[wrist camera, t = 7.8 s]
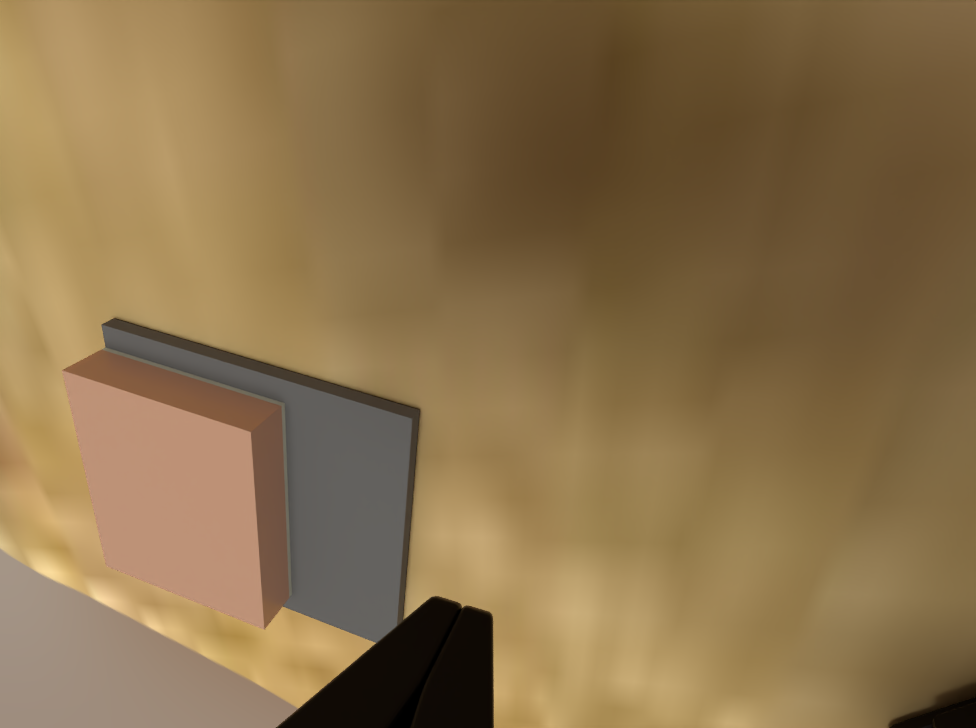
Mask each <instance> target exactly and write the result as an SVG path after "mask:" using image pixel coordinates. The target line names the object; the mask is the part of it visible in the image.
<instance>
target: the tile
mask: <svg viewBox="0 0 976 728" xmlns="http://www.w3.org/2000/svg"><path fill="white" fill-rule="evenodd" d="M62 372H63V376H64V381H65V385H66V390H67V394H68V399H69V403H70V407H71V412H72V416H73V421H74V425H75V430H76V434H77V438H78V443H79V447H80V452H81V456H82V461H83V465H84V469H85V474H86V478H87V483H88V487H89V492H90V496H91V501H92V505H93V509H94V514H95V518H96V523H97V527H98V532H99V536H100V540H101V545H102V549H103V554H104V558H105V563H106V566H107V567H110V568H112V569H115V570H117V571H120V572H122V573H125V574H127V575H130V576H132V577H135V578H137V579H140V580H142V581H145V582H147V583H150V584H152V585H155V586H157V587H160V588H162V589H165V590H167V591H170V592H172V593H174V594H177V595H179V596H182V597H184V598H187V599H189V600H192V601H194V602H197V603H199V604H202V605H204V606H207V607H209V608H212V609H214V610H217V611H219V612H222V613H224V614H227V615H229V616H232V617H234V618H237V619H239V620H242V621H244V622H247V623H249V624H252V625H254V626H257V627H259V628H262V629H265V628H266V627H267V626H268V624H269V623H270V622H271V620H272V619H273V618H274V617H275V615H276V614H277V613H278V612H279V610H280V609H281V608H282V606H283V605H284V604H285V603H286V601H287V600H288V599H289V597H290V596H291V595H292V585H291V558H290V532H289V505H288V478H287V452H286V425H285V403H282V402H279V401H276V400H273V399H269V398H266V397H263V396H260V395H257V394H253V393H250V392H247V391H244V390H241V389H237V388H234V387H231V386H228V385H225V384H221V383H218V382H215V381H212V380H209V379H205V378H202V377H199V376H196V375H193V374H189V373H186V372H183V371H180V370H177V369H173V368H170V367H167V366H164V365H161V364H157V363H154V362H151V361H148V360H144V359H141V358H138V357H135V356H132V355H128V354H125V353H122V352H119V351H116V350H112V349H109V348H106V347H105V348H104V349H102V350H100V351H98V352H96V353H94V354H92V355H90V356H88V357H87V358H85V359H83V360H81V361H79V362H77V363H75V364H73V365H71V366H69V367H68V368H66V369H64V370H62Z"/></svg>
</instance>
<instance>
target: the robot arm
mask: <svg viewBox="0 0 976 728" xmlns="http://www.w3.org/2000/svg"><path fill="white" fill-rule="evenodd" d="M276 728H494V690H493V616H492V614H491V613H490V612H488V611H485V610H482V609H478V608H475V607H472V606H464V607H463V608H462V605H461V604H460V603H458V602H455V601H452V600H449V599H446V598H442V597H439V596H434V597H431V598H430V599H428V600H427V601H426V602H425V603H423V604H422V605H421V606H420V607H419V608H417V609H416V610H415V611H414V612H413V613H412V614H410V615H409V616H408V617H407V618H406V619H404V620H403V621H402V622H401V623H400V624H398V625H397V626H396V627H395V628H394V629H393V630H391V631H390V632H389V633H388V634H387V635H385V636H384V637H383V638H382V639H381V640H379V641H378V642H377V643H376V644H375V645H374V646H372V647H371V648H370V649H369V650H368V651H366V652H365V653H364V654H363V655H362V656H360V657H359V658H358V659H357V660H356V661H355V662H353V663H352V664H351V665H350V666H349V667H347V668H346V669H345V670H344V671H343V672H341V673H340V674H339V675H338V676H337V677H336V678H334V679H333V680H332V681H331V682H330V683H328V684H327V685H326V686H325V687H324V688H322V689H321V690H320V691H319V692H318V693H317V694H315V695H314V696H313V697H312V698H311V699H309V700H308V701H307V702H306V703H305V704H304V705H302V706H301V707H300V708H299V709H298V710H296V711H295V712H294V713H293V714H292V715H291V716H290V717H288V718H287V719H286V720H285V721H283V722H282V723H281V724H280V725H279V726H278V727H276ZM890 728H976V698H973V699H970V700H967V701H964V702H961V703H958V704H955V705H952V706H949V707H946V708H943V709H940V710H937V711H934V712H931V713H928V714H925V715H922V716H919V717H916V718H913V719H910V720H907V721H904V722H901V723H898V724H895V725H893V726H891V727H890Z"/></svg>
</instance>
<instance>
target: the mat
mask: <svg viewBox="0 0 976 728" xmlns="http://www.w3.org/2000/svg"><path fill="white" fill-rule="evenodd" d="M102 330H103V335H104V341H105V346H106V348H109V349H112V350H116V351H119V352H122V353H125V354H128V355H132V356H135V357H138V358H141V359H144V360H148V361H151V362H154V363H157V364H161V365H164V366H167V367H170V368H173V369H177V370H180V371H183V372H186V373H189V374H193V375H196V376H199V377H202V378H205V379H209V380H212V381H215V382H218V383H221V384H225V385H228V386H231V387H234V388H237V389H241V390H244V391H247V392H250V393H253V394H257V395H260V396H263V397H266V398H269V399H273V400H276V401H279V402H282V403H285V425H286V452H287V478H288V505H289V532H290V558H291V585H292V595H291V596H290V597H289V599H288V600H287V601H286V603H285V604H284V605H283V607H286V608H288V609H291V610H293V611H296V612H299V613H301V614H304V615H306V616H309V617H311V618H314V619H316V620H319V621H322V622H324V623H327V624H329V625H332V626H334V627H337V628H340V629H342V630H345V631H347V632H350V633H352V634H355V635H357V636H360V637H363V638H365V639H368V640H370V641H373V642H375V643H377V642H378V641H379V640H381V639H382V638H383V637H384V636H385V635H387V634H388V633H389V632H390V631H391V630H393V629H394V628H395V627H396V626H397V625H398V624H400V623H401V622H402V621H403V610H404V598H405V585H406V573H407V561H408V548H409V536H410V523H411V511H412V499H413V486H414V474H415V462H416V449H417V437H418V424H419V412H420V410H418V409H415V408H411V407H408V406H404V405H401V404H398V403H394V402H391V401H388V400H384V399H381V398H378V397H374V396H371V395H368V394H364V393H361V392H358V391H354V390H351V389H348V388H344V387H341V386H338V385H334V384H331V383H328V382H324V381H321V380H318V379H314V378H311V377H308V376H304V375H301V374H298V373H294V372H291V371H288V370H284V369H281V368H278V367H274V366H271V365H267V364H264V363H261V362H257V361H254V360H251V359H247V358H244V357H241V356H237V355H234V354H231V353H227V352H224V351H221V350H217V349H214V348H211V347H207V346H204V345H201V344H197V343H194V342H191V341H187V340H184V339H181V338H177V337H174V336H171V335H167V334H164V333H161V332H157V331H154V330H151V329H147V328H144V327H141V326H137V325H134V324H130V323H127V322H124V321H120V320H117V319H112V320H110V321H108V322H106V323H104V324H102Z"/></svg>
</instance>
